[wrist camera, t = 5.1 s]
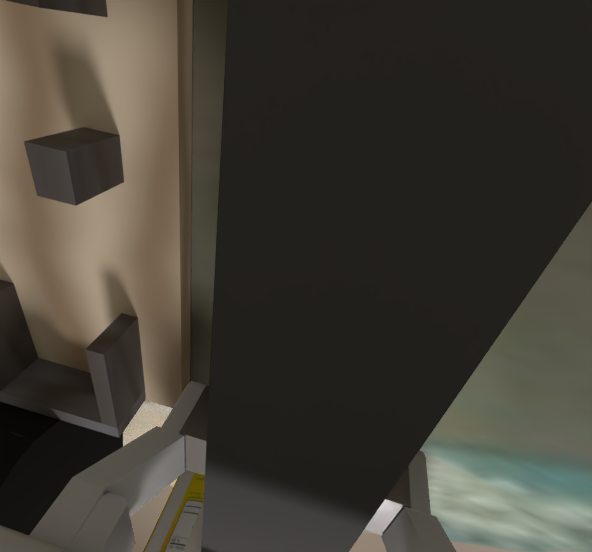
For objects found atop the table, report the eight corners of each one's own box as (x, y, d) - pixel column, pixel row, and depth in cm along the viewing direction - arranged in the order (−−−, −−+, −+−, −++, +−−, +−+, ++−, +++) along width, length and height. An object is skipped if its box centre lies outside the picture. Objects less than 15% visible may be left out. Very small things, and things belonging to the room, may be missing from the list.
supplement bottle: (234, 481, 30) (154, 715, 19) (181, 434, 28) (57, 669, 17) (296, 467, 27) (243, 736, 16) (243, 414, 25) (140, 683, 14)
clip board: (193, -97, 11) (110, -166, 8) (189, 396, 25) (158, 451, 22) (-186, -166, 12) (-409, -254, 9) (10, 344, 26) (-47, 388, 23)
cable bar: (606, -17, 6) (1137, -177, 2) (322, 527, 17) (302, 667, 13) (288, -76, 6) (92, -314, 2) (222, 493, 18) (175, 619, 14)
